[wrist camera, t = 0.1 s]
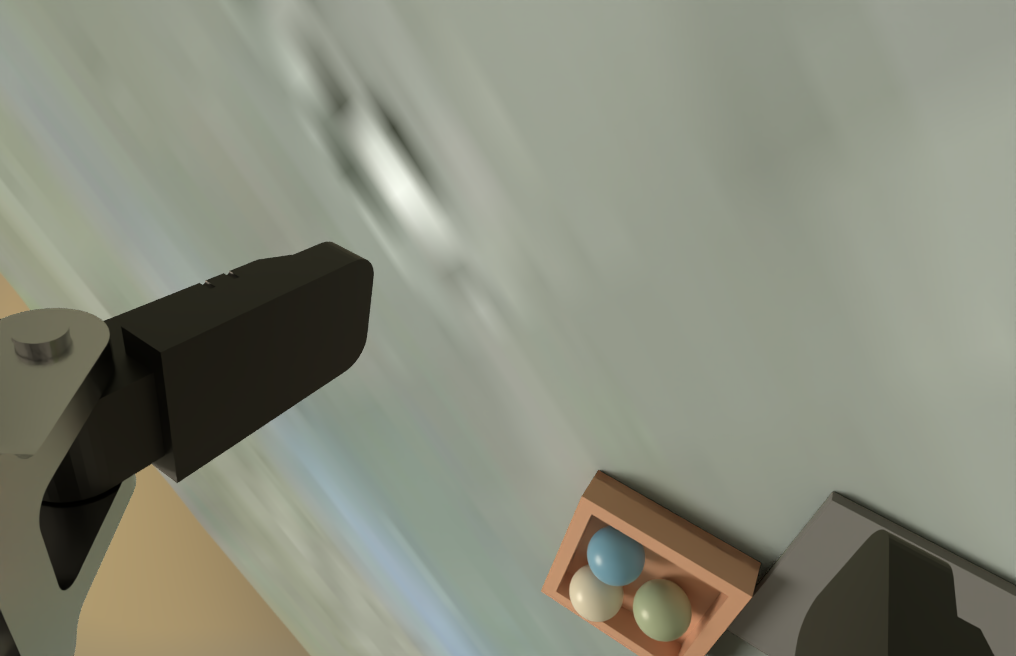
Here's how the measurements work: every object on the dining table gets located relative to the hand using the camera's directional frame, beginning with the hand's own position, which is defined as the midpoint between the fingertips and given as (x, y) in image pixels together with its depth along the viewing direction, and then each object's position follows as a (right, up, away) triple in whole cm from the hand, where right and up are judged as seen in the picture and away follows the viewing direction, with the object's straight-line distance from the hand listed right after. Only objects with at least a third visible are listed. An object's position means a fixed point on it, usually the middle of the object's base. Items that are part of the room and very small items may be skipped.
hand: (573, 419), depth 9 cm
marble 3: (+7, -13, +23) cm, 28 cm away
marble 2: (+4, -13, +25) cm, 29 cm away
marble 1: (+5, -11, +23) cm, 26 cm away
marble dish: (+7, -12, +25) cm, 29 cm away
